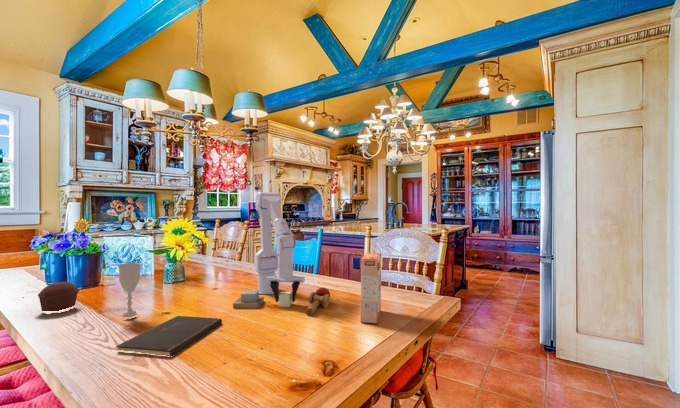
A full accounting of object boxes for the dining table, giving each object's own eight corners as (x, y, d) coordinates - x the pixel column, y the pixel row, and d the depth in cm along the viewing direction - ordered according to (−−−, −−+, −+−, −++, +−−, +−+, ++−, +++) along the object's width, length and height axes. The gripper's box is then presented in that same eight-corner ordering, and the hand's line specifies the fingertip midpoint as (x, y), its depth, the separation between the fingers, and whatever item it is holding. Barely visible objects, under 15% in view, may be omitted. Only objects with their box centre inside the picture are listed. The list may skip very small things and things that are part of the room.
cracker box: (378, 324, 99) (378, 258, 100) (360, 323, 101) (359, 258, 101) (382, 310, 113) (381, 252, 113) (365, 309, 114) (365, 252, 115)
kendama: (322, 320, 107) (335, 298, 124) (318, 303, 106) (332, 283, 124) (301, 322, 109) (317, 300, 126) (297, 305, 108) (314, 285, 126)
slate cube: (244, 297, 123) (244, 290, 123) (259, 297, 123) (259, 290, 123) (240, 302, 117) (240, 294, 117) (255, 302, 117) (255, 293, 117)
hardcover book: (115, 355, 81) (115, 346, 81) (177, 322, 103) (177, 315, 103) (170, 360, 78) (170, 350, 78) (222, 325, 100) (222, 318, 100)
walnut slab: (241, 302, 125) (241, 296, 125) (263, 302, 124) (263, 296, 124) (233, 310, 116) (233, 303, 116) (257, 310, 115) (257, 303, 115)
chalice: (112, 319, 105) (112, 265, 105) (133, 313, 111) (134, 262, 111) (124, 322, 101) (125, 267, 101) (146, 316, 107) (146, 263, 108)
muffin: (71, 313, 110) (71, 285, 110) (30, 317, 106) (30, 288, 106) (84, 304, 121) (84, 278, 121) (47, 307, 117) (48, 280, 117)
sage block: (281, 303, 122) (281, 291, 122) (291, 303, 122) (291, 291, 122) (279, 306, 118) (279, 294, 118) (289, 306, 118) (289, 294, 118)
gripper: (263, 267, 116) (263, 304, 116) (302, 267, 116) (302, 304, 116) (268, 264, 123) (268, 298, 123) (305, 264, 123) (305, 298, 123)
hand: (285, 301), depth 120 cm, fingers open, 6 cm apart
